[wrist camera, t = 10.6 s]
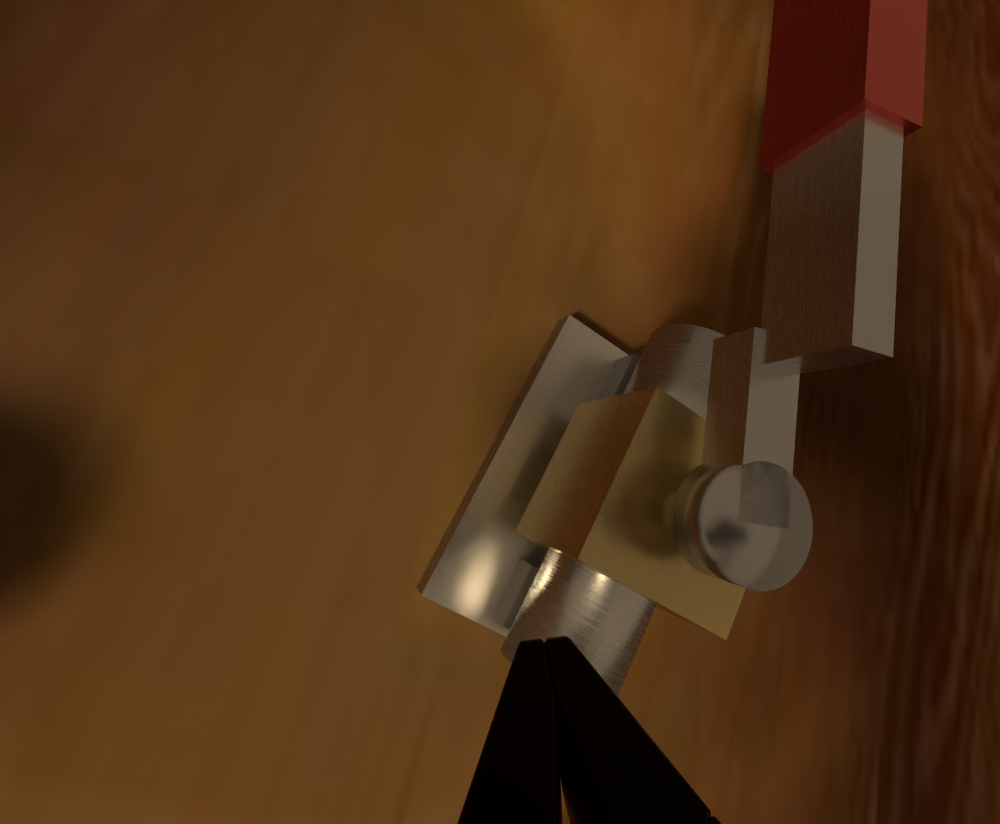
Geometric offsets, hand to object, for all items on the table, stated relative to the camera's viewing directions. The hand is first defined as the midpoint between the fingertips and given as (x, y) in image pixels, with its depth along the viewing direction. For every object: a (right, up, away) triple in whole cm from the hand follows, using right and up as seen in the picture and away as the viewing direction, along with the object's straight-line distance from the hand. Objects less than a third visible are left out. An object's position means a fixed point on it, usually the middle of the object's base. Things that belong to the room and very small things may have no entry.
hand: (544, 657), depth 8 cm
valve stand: (+3, 0, +14) cm, 14 cm away
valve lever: (+6, +8, +6) cm, 12 cm away
